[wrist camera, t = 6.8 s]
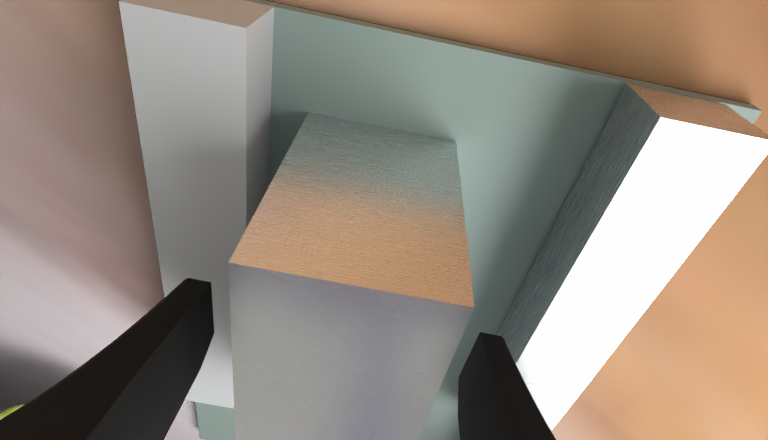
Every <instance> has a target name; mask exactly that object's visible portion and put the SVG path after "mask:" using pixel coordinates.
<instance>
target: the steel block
mask: <svg viewBox="0 0 768 440" xmlns="http://www.w3.org/2000/svg"><path fill="white" fill-rule="evenodd" d="M228 267H229V292H230V318H231V343H232V368H233V393H234V419H235V440H417V439H418V437H419V434H420V432H421V430H422V427H423V425H424V423H425V421H426V418H427V416H428V414H429V411H430V409H431V407H432V404H433V402H434V400H435V398H436V395H437V393H438V391H439V388H440V386H441V384H442V381H443V379H444V377H445V374H446V372H447V370H448V368H449V365H450V363H451V361H452V358H453V356H454V354H455V351H456V349H457V347H458V345H459V342H460V340H461V338H462V335H463V333H464V331H465V328H466V326H467V324H468V321H469V319H470V317H471V315H472V312H473V310H474V299H473V290H472V281H471V271H470V262H469V253H468V244H467V235H466V226H465V217H464V208H463V198H462V189H461V180H460V171H459V162H458V153H457V144H456V141H453V140H447V139H442V138H437V137H432V136H427V135H422V134H417V133H412V132H407V131H402V130H397V129H392V128H387V127H382V126H377V125H372V124H367V123H362V122H357V121H352V120H347V119H342V118H337V117H332V116H327V115H322V114H316V113H311V112H308V114H307V116H306V118H305V120H304V122H303V124H302V125H301V127H300V129H299V131H298V133H297V135H296V137H295V139H294V140H293V142H292V144H291V146H290V148H289V150H288V152H287V154H286V155H285V157H284V159H283V161H282V163H281V165H280V167H279V169H278V170H277V172H276V174H275V176H274V178H273V180H272V182H271V184H270V185H269V187H268V189H267V191H266V193H265V195H264V197H263V198H262V200H261V202H260V204H259V206H258V208H257V210H256V212H255V213H254V215H253V217H252V219H251V221H250V223H249V225H248V227H247V228H246V230H245V232H244V234H243V236H242V238H241V240H240V242H239V243H238V245H237V247H236V249H235V251H234V253H233V255H232V257H231V258H230V260H229V262H228Z"/></svg>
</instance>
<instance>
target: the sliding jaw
mask: <svg viewBox="0 0 768 440" xmlns="http://www.w3.org/2000/svg"><path fill="white" fill-rule="evenodd" d="M767 154H768V135H767V134H766V133H764V132H763V131H761V130H760V129H759V128H757V127H756V126H755V125H753V124H752V123H750V122H749V121H748V120H746V119H745V118H744V117H742V116H741V115H740V114H738V113H737V112H735V111H734V110H733V109H731V108H730V107H729V106H727V105H726V104H721V103H717V102H712V101H707V100H703V99H698V98H693V97H689V96H684V95H679V94H675V93H670V92H665V91H661V90H656V89H651V88H647V87H642V86H637V85H633V84H628V83H626V85H625V87H624V89H623V91H622V93H621V95H620V97H619V98H618V100H617V102H616V104H615V106H614V108H613V110H612V112H611V114H610V116H609V118H608V120H607V122H606V124H605V126H604V128H603V130H602V132H601V133H600V135H599V137H598V139H597V141H596V143H595V145H594V147H593V149H592V151H591V153H590V155H589V157H588V159H587V161H586V163H585V165H584V167H583V168H582V170H581V172H580V174H579V176H578V178H577V180H576V182H575V184H574V186H573V188H572V190H571V192H570V194H569V196H568V198H567V200H566V202H565V203H564V205H563V207H562V209H561V211H560V213H559V215H558V217H557V219H556V221H555V223H554V225H553V227H552V229H551V231H550V233H549V235H548V237H547V238H546V240H545V242H544V244H543V246H542V248H541V250H540V252H539V254H538V256H537V258H536V260H535V262H534V264H533V266H532V268H531V270H530V272H529V273H528V275H527V277H526V279H525V281H524V283H523V285H522V287H521V289H520V291H519V293H518V295H517V297H516V299H515V301H514V303H513V305H512V307H511V308H510V310H509V312H508V314H507V316H506V318H505V320H504V322H503V324H502V326H501V328H500V330H499V332H498V334H497V335H498V336H502V337H503V338H504V340H505V342H506V344H507V346H508V348H509V350H510V353H511V355H512V357H513V359H514V361H515V363H516V365H517V367H518V369H519V371H520V373H521V375H522V378H523V380H524V382H525V384H526V386H527V388H528V390H529V391H530V393H531V395H532V397H533V399H534V401H535V403H536V405H537V407H538V408H539V410H540V412H541V414H542V416H543V418H544V420H545V421H546V423H547V425H548V427H549V428H550V430H551V431H552V430H553V428H554V427H555V426H556V425H557V423H558V422H559V421H560V419H561V418H562V417H563V416H564V414H565V413H566V412H567V410H568V409H569V408H570V407H571V405H572V404H573V403H574V401H575V400H576V399H577V398H578V396H579V395H580V394H581V392H582V391H583V390H584V389H585V387H586V386H587V385H588V384H589V382H590V381H591V380H592V378H593V377H594V376H595V375H596V373H597V372H598V371H599V369H600V368H601V367H602V366H603V364H604V363H605V362H606V360H607V359H608V358H609V357H610V355H611V354H612V353H613V351H614V350H615V349H616V348H617V346H618V345H619V344H620V342H621V341H622V340H623V339H624V337H625V336H626V335H627V333H628V332H629V331H630V330H631V328H632V327H633V326H634V324H635V323H636V322H637V321H638V319H639V318H640V317H641V316H642V314H643V313H644V312H645V310H646V309H647V308H648V307H649V305H650V304H651V303H652V301H653V300H654V299H655V298H656V296H657V295H658V294H659V292H660V291H661V290H662V289H663V287H664V286H665V285H666V283H667V282H668V281H669V280H670V278H671V277H672V276H673V274H674V273H675V272H676V271H677V269H678V268H679V267H680V265H681V264H682V263H683V262H684V260H685V259H686V258H687V256H688V255H689V254H690V253H691V251H692V250H693V249H694V247H695V246H696V245H697V244H698V242H699V241H700V240H701V239H702V237H703V236H704V235H705V233H706V232H707V231H708V230H709V228H710V227H711V226H712V224H713V223H714V222H715V221H716V219H717V218H718V217H719V215H720V214H721V213H722V212H723V210H724V209H725V208H726V206H727V205H728V204H729V203H730V201H731V200H732V199H733V197H734V196H735V195H736V194H737V192H738V191H739V190H740V188H741V187H742V186H743V185H744V183H745V182H746V181H747V179H748V178H749V177H750V176H751V174H752V173H753V172H754V171H755V169H756V168H757V167H758V165H759V164H760V163H761V162H762V160H763V159H764V158H765V156H766V155H767Z"/></svg>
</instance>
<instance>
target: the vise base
mask: <svg viewBox="0 0 768 440" xmlns="http://www.w3.org/2000/svg"><path fill="white" fill-rule="evenodd" d="M119 8H120V14H121V21H122V27H123V33H124V40H125V46H126V53H127V59H128V66H129V72H130V79H131V85H132V92H133V98H134V104H135V111H136V117H137V124H138V130H139V137H140V143H141V150H142V156H143V163H144V169H145V175H146V182H147V188H148V195H149V201H150V208H151V214H152V221H153V227H154V234H155V240H156V246H157V253H158V259H159V266H160V272H161V279H162V285H163V292H164V298H165V297H166V296H167V295H168V294H169V293H170V292H171V291H172V290H174V289H175V288H176V287H177V286H178V285H179V284H180V283H181V282H182V281H183V280H185V279H187V278H192V279H197V280H202V281H208V282H211V288H212V304H213V320H214V335H213V338H212V340H211V343H210V346H209V348H208V351H207V354H206V356H205V359H204V361H203V364H202V366H201V369H200V371H199V373H198V375H197V377H196V379H195V381H194V383H193V385H192V386H191V388H190V390H189V392H188V394H187V396H186V398H185V400H187V401H193V402H195V404H196V412H197V421H198V429H199V437H200V439H206V440H235V419H234V393H233V368H232V343H231V318H230V292H229V267H228V262H229V260H230V258H231V257H232V255H233V253H234V251H235V249H236V247H237V245H238V243H239V242H240V240H241V238H242V236H243V234H244V232H245V230H246V228H247V227H248V225H249V223H250V221H251V219H252V217H253V215H254V213H255V212H256V210H257V208H258V206H259V204H260V202H261V200H262V198H263V197H264V195H265V193H266V191H267V189H268V187H269V185H270V184H271V182H272V180H273V178H274V176H275V174H276V172H277V170H278V169H279V167H280V165H281V163H282V161H283V159H284V157H285V155H286V154H287V152H288V150H289V148H290V146H291V144H292V142H293V140H294V139H295V137H296V135H297V133H298V131H299V129H300V127H301V125H302V124H303V122H304V120H305V118H306V116H307V114H308V112H311V113H316V114H322V115H327V116H332V117H337V118H342V119H347V120H352V121H357V122H362V123H367V124H372V125H377V126H382V127H387V128H392V129H397V130H402V131H407V132H412V133H417V134H422V135H427V136H432V137H437V138H442V139H447V140H453V141H456V144H457V153H458V162H459V171H460V180H461V189H462V198H463V208H464V217H465V226H466V235H467V244H468V253H469V262H470V271H471V281H472V290H473V299H474V310H473V312H472V315H471V317H470V319H469V321H468V324H467V326H466V328H465V331H464V333H463V335H462V338H461V340H460V342H459V345H458V347H457V349H456V351H455V354H454V356H453V358H452V361H451V363H450V365H449V368H448V370H447V372H446V374H445V377H444V379H443V381H442V384H441V386H440V388H439V391H438V393H437V395H436V398H435V400H434V402H433V404H432V407H431V409H430V411H429V414H428V416H427V418H426V421H425V423H424V425H423V427H422V430H421V432H420V434H419V437H418V439H417V440H460V435H459V424H458V379H459V375H460V373H461V371H462V369H463V367H464V364H465V362H466V360H467V358H468V356H469V354H470V352H471V350H472V348H473V346H474V344H475V341H476V339H477V337H478V335H479V333H480V332H482V333H488V334H493V335H497V334H498V332H499V330H500V328H501V326H502V324H503V322H504V320H505V318H506V316H507V314H508V312H509V310H510V308H511V307H512V305H513V303H514V301H515V299H516V297H517V295H518V293H519V291H520V289H521V287H522V285H523V283H524V281H525V279H526V277H527V275H528V273H529V272H530V270H531V268H532V266H533V264H534V262H535V260H536V258H537V256H538V254H539V252H540V250H541V248H542V246H543V244H544V242H545V240H546V238H547V237H548V235H549V233H550V231H551V229H552V227H553V225H554V223H555V221H556V219H557V217H558V215H559V213H560V211H561V209H562V207H563V205H564V203H565V202H566V200H567V198H568V196H569V194H570V192H571V190H572V188H573V186H574V184H575V182H576V180H577V178H578V176H579V174H580V172H581V170H582V168H583V167H584V165H585V163H586V161H587V159H588V157H589V155H590V153H591V151H592V149H593V147H594V145H595V143H596V141H597V139H598V137H599V135H600V133H601V132H602V130H603V128H604V126H605V124H606V122H607V120H608V118H609V116H610V114H611V112H612V110H613V108H614V106H615V104H616V102H617V100H618V98H619V97H620V95H621V93H622V91H623V89H624V87H625V85H626V83H628V84H633V85H637V86H642V87H647V88H651V89H656V90H661V91H665V92H670V93H675V94H679V95H684V96H689V97H693V98H698V99H703V100H707V101H712V102H717V103H721V104H726V105H727V106H729V107H730V108H731V109H733V110H734V111H735V112H737V113H738V114H740V115H741V116H742V117H744V118H745V119H746V120H748V121H749V122H750V123H752V124H753V123H754V122H755V121H756V119H757V118H758V117H759V115H760V114H761V112H762V111H761V110H760V109H758V108H757V107H755V106H754V105H751V104H747V103H742V102H737V101H733V100H728V99H723V98H719V97H714V96H709V95H705V94H700V93H695V92H691V91H686V90H681V89H677V88H672V87H667V86H663V85H658V84H653V83H649V82H644V81H639V80H635V79H630V78H625V77H621V76H616V75H611V74H607V73H602V72H597V71H593V70H588V69H583V68H579V67H574V66H569V65H565V64H560V63H555V62H551V61H546V60H541V59H537V58H532V57H527V56H523V55H518V54H513V53H509V52H504V51H499V50H495V49H490V48H485V47H481V46H476V45H471V44H467V43H462V42H457V41H453V40H448V39H443V38H439V37H434V36H429V35H425V34H420V33H415V32H411V31H406V30H402V29H397V28H392V27H388V26H383V25H378V24H374V23H369V22H364V21H360V20H355V19H350V18H346V17H341V16H336V15H332V14H327V13H322V12H318V11H313V10H308V9H304V8H299V7H294V6H290V5H285V4H280V3H276V2H271V1H266V0H120V1H119Z"/></svg>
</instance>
